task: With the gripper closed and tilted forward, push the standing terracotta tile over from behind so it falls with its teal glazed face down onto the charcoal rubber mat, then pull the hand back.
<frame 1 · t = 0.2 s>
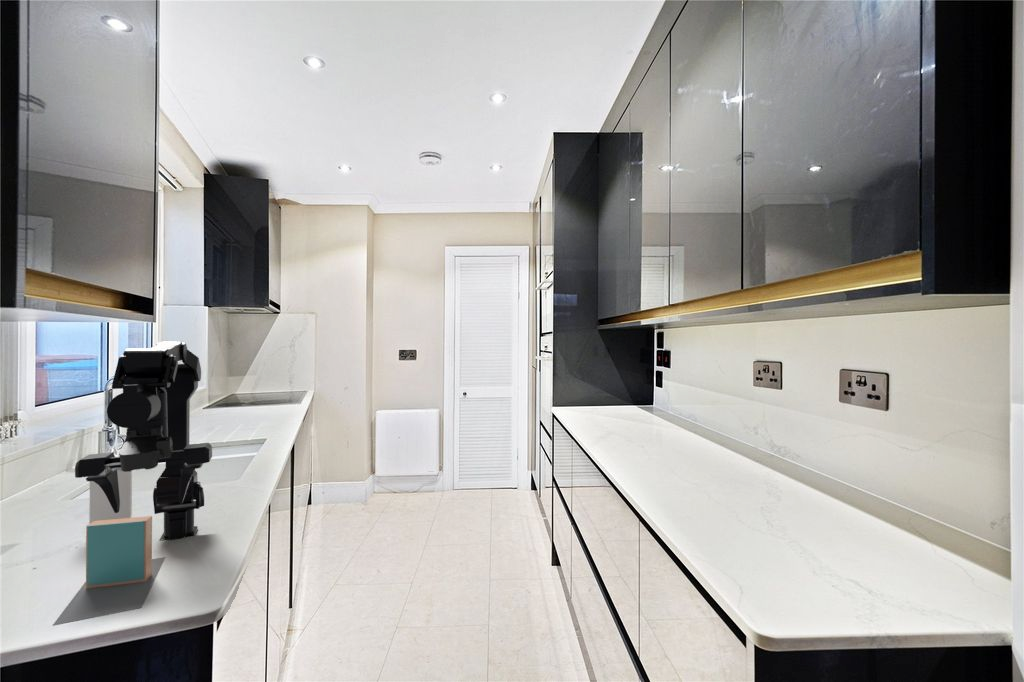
hand: (149, 507, 85), 15 cm above the worktop, tool pointing down, fingers open, 9 cm apart
tile: (119, 581, 88), point 1 cm above the worktop, touching mat
mat: (116, 589, 86), on the worktop
milk carton: (111, 535, 111), on the worktop
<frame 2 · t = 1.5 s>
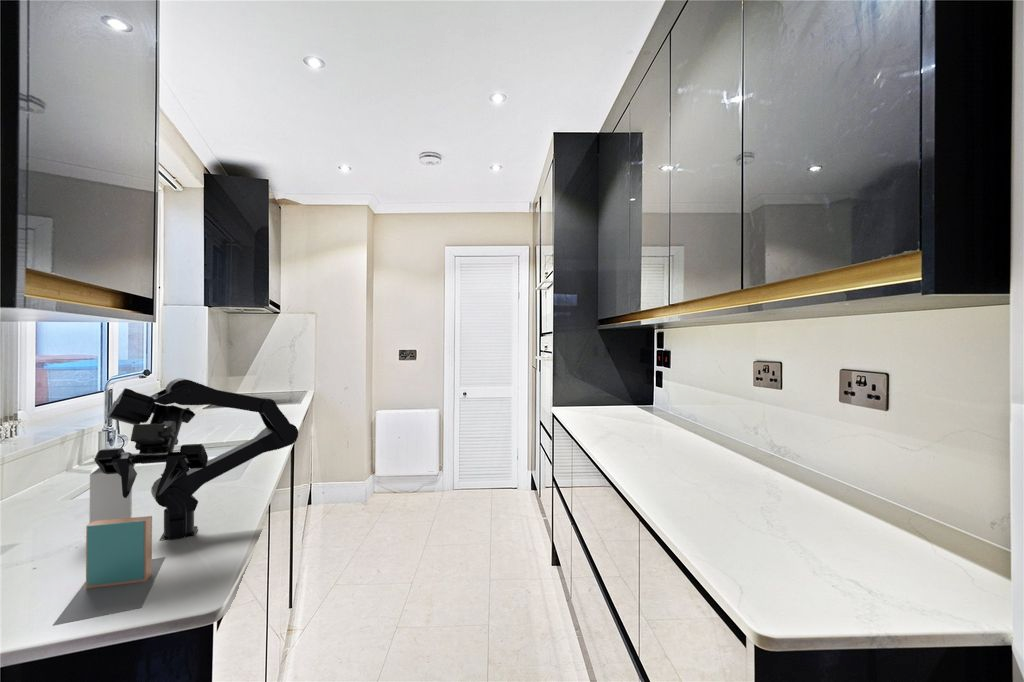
hand: (141, 495, 96), 14 cm above the worktop, tool tilted 45°, fingers open, 5 cm apart
nothing on the worktop moved.
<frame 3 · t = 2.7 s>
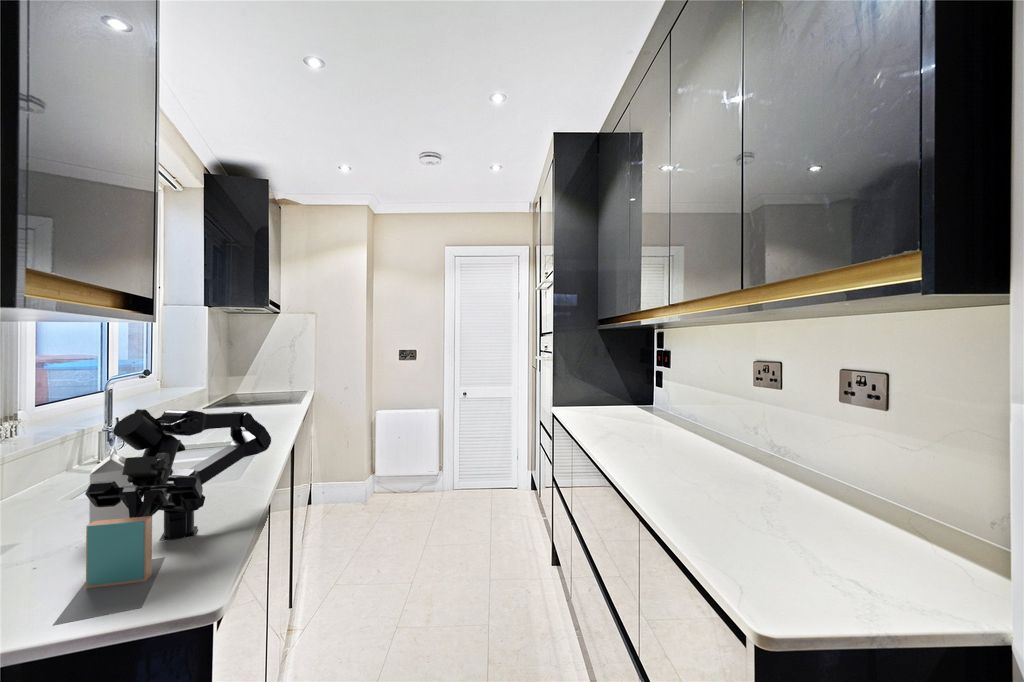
hand: (133, 531, 93), 8 cm above the worktop, tool tilted 45°, fingers closed
nothing on the worktop moved.
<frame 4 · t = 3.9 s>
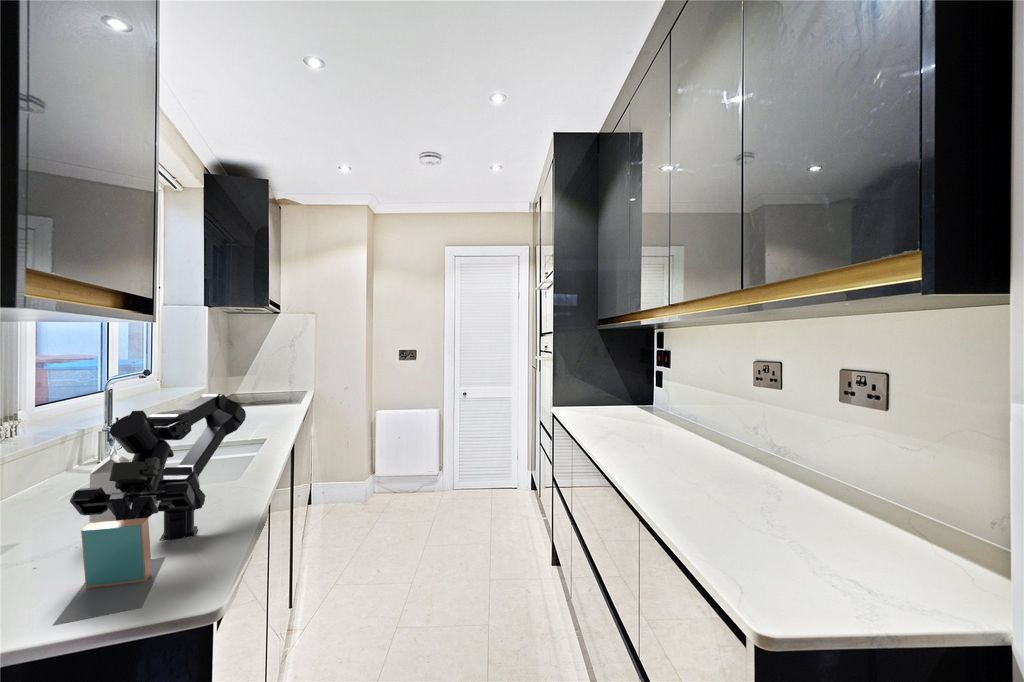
hand: (120, 541, 88), 8 cm above the worktop, tool tilted 45°, fingers closed
tile: (119, 580, 88), point 1 cm above the worktop, tilted 9°, touching gripper, mat
everything else where it was.
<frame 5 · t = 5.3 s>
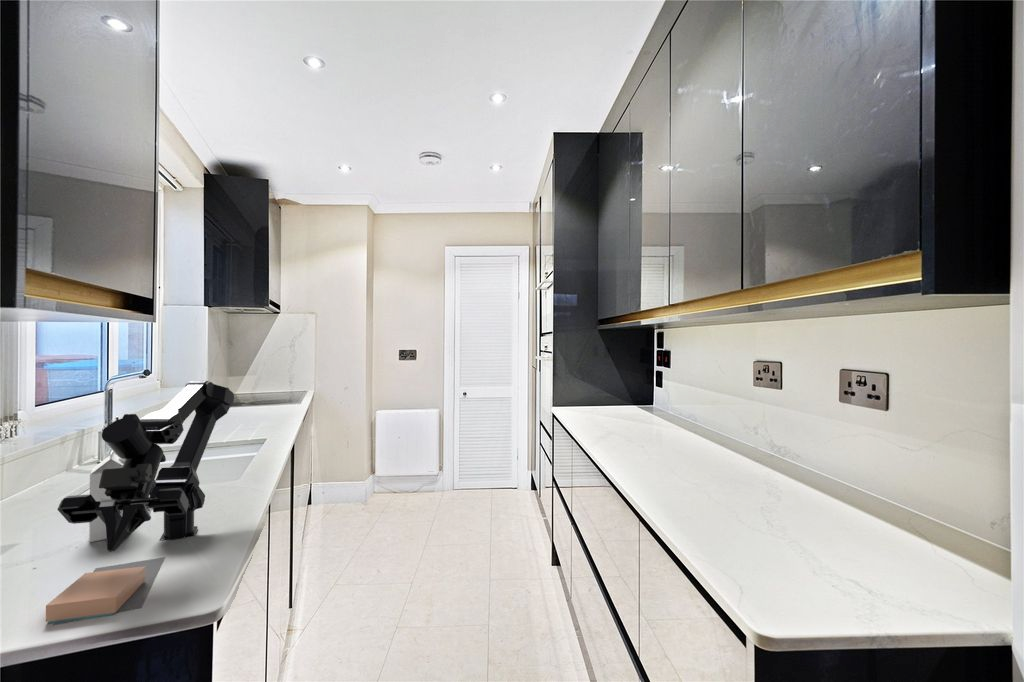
hand: (110, 550, 84), 8 cm above the worktop, tool tilted 45°, fingers closed
tile: (115, 576, 86), point 2 cm above the worktop, tilted 90°, touching mat
everything else where it was.
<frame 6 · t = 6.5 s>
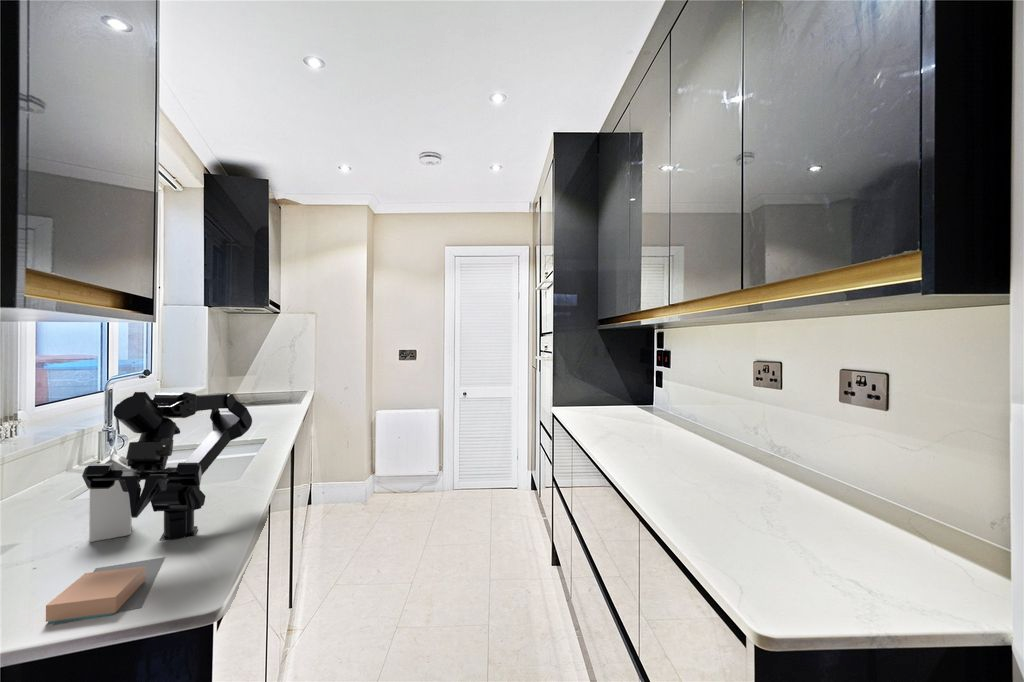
hand: (134, 516, 92), 11 cm above the worktop, tool tilted 40°, fingers closed
nothing on the worktop moved.
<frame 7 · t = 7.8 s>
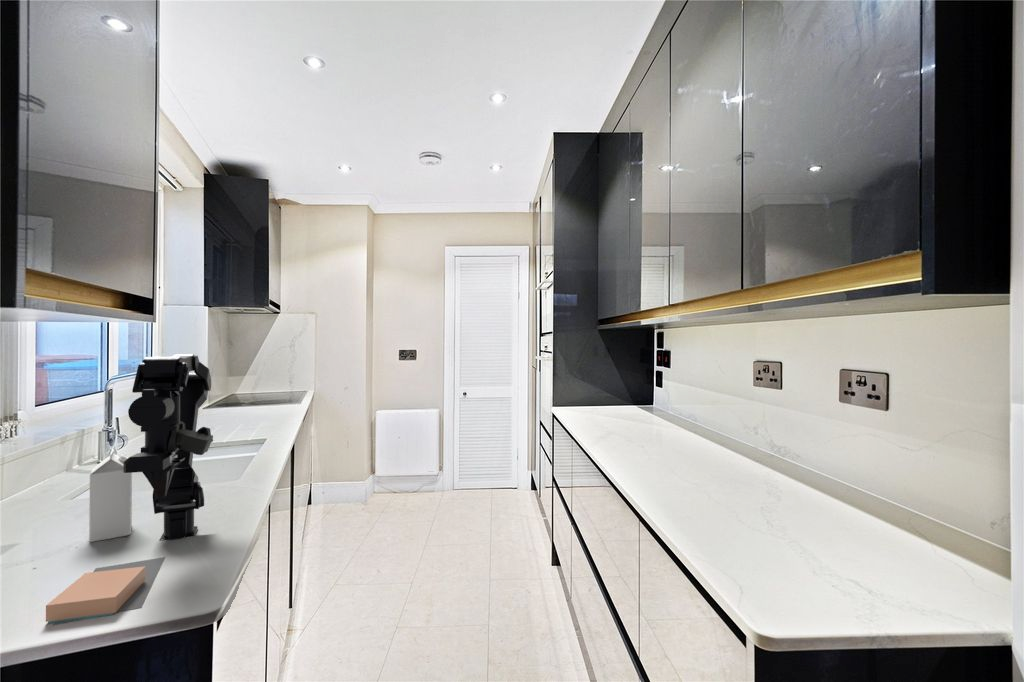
hand: (162, 496, 97), 13 cm above the worktop, tool pointing down, fingers closed
nothing on the worktop moved.
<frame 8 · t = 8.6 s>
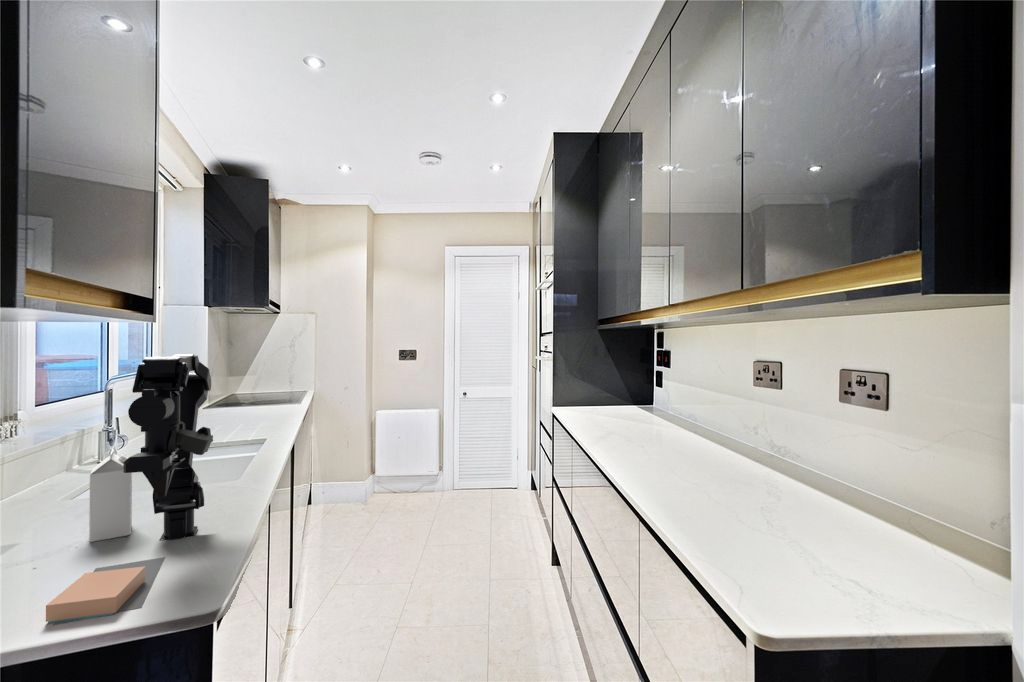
hand: (162, 496, 97), 13 cm above the worktop, tool pointing down, fingers closed
nothing on the worktop moved.
at the end: tile tilted 90°; tile inside the target area (0.9 cm from its centre), point 2.1 cm above the worktop; tile touching mat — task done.
